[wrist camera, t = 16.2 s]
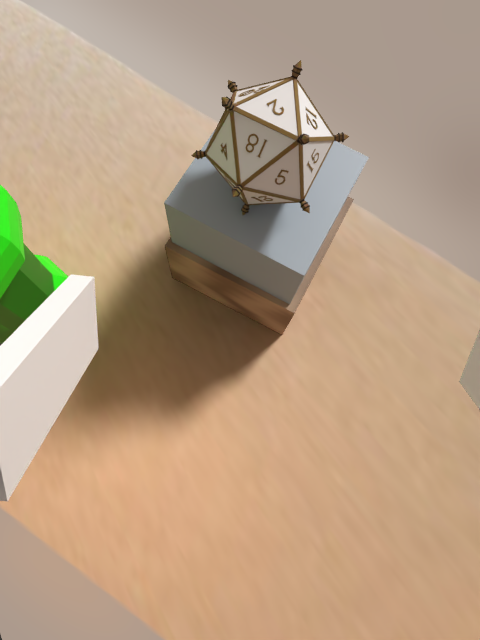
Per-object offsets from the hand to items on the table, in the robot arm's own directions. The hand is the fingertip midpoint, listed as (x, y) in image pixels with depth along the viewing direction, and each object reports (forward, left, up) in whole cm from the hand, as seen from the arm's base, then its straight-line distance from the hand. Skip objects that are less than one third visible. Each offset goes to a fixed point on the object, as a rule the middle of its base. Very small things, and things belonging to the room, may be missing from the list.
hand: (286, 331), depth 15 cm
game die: (+6, -13, -13) cm, 20 cm away
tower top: (+6, -14, -19) cm, 24 cm away
